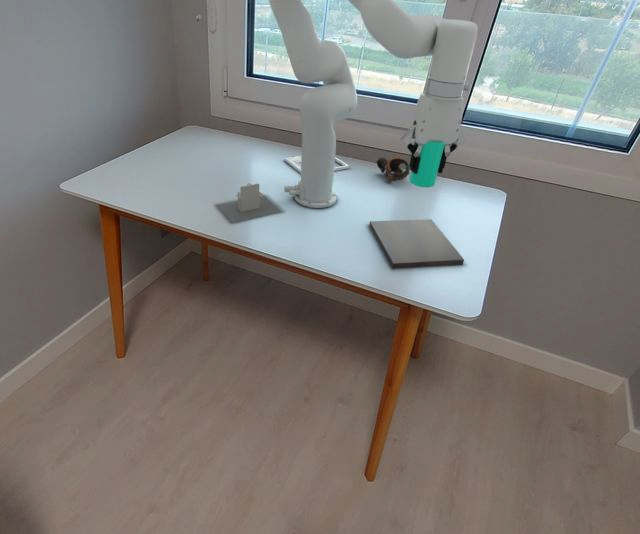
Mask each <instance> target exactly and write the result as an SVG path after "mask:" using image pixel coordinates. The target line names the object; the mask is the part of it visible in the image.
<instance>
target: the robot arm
mask: <svg viewBox="0 0 640 534" xmlns="http://www.w3.org/2000/svg"><path fill="white" fill-rule="evenodd" d="M268 2H269V4H270V8H271V12H272V13H273V16H274V18H275V21H276V23H277V25H278V27H279V30H280V34H281V36H282V40H283V43H284V47H285V49H286V53H287V56H288V59H289V62H290V65H291V68H292V71H293V74H294V76H295V78H296V79H297V80H298V82H300V83H303V84H314V83H319V82H320V83H321V82H322V84H323V85H320V86H315V87H313V88H310V89H309V90H307V91H306V92H304V93H303V95H302V97H301V99H300V101H299V116H300V122H301V123H300V124H301V156H302V157H301V173H300V180H298V182H297V184H294V185H284V188H283V189H284V193H288V194H289V196H294V201H296V203H298V205H299V204H300V205H301V206H304V207H306V208H311V209H325V208H329V207H332V206H334V205H335V204H336V203H337V197H338V196H337V195H336V193H335V192H334V191H333V185H334V173H335V171H334V167H335V162H336V161H335V157H336V152H337V137H336V136H337V135H336V132H335V130H334V129H335V128H334V123H337V122H340V121H344V120H347V119H349V118H351V117H352V116H353V115H354V114H355V113H356V110H357V107H358V102H359V101H358V94H357V93H358V92H357V90H356V86H355V82H354V78H353V74H352V71H351V66H350V65H349V61H348V57H347V55H346V53H345V50H344V49H343V48H342V46H341V45H340V44H339V43H337V42H335V41H333V40H321V39H320V37H319V35H318V32H317V30H316V29H317V28H316V25H315V22H314V20H313V18H312V16H311V15H312V14H311V13H310V12H309V11H308V9H307V7H306V6H305V5H304V4H303V2H302V0H268ZM347 2H349V3H350V4H351V5H352V6H353V7H354V8H355V9H356V10H357V11H358V12H359V13H360V17H361V20H362V22H363V25H364V27H365V29H366V31H367V32H368V34H370V36H371V37H372V38H373V39H374V40H375V41H376V42H377V43H378V44H379V45H381V46H382V47H383V48H384V49H385V50H386V51H387V52H389V53H390V54H391V55H393V57H396V58H399V59H403V60H406V59H413V58H421V57H431V60H430V61H431V62H430V67H429V71H428V76H427V81H426V86H425V91H424V92H422V93H420V95H419V97H418V100H417V103H416V105H415V108H414V111H413V115H412V118H411V122H410V126H409V129H408V130H407V131H406V132H405V133H404V134H403V135H402V136H401V137H400V141H401V142H402V143H403V144H404V145H405V147H406V148H407V149H408V151H409V152H410V153H411V154H410V161H409V163H408V164H409V169H410V170H409V171H410V172H411V171H412V172H413V173H414V174H417V172H418V167H419V163H420V158H421V157H419V155H420V153H421V151H422V146H423V144H426V143H427V142H437V143H440V142H444V149H443V153H442V157H441V161H440V165H439V169H438V173H437V174H442V173H443V171H444V169H445V166H446V163H447V159H448V158H449V157H450V156H451V154H452V153H453V152H454V151H455V150H456V149H457V148H458V147H459V146H461V145H462V144H464V142H465V141H466V140H465V137H464V136H463V134H462V132H461V125H462V120H463V112H464V97H463V95H464V92H465V91H469V89H470V84H469V83H466V81H467V77H468V72H469V70H470V69H469V68H470V64H471V61H472V56H473V54H474V53H473V52H474V49H475V45H476V41H477V36H478V29H479V27H478V25H477V23H475V22H473V21H472V20H471V21H470V20H465V19H464V20H463V19H451V18H450V19H447V18H444V17H441V16H438V15H433V14H410V13H408V12H407V10H404V8H403V7H402V6H400V5H399V4H398V3H396V1H395V0H347ZM411 139H414V142H413V143H412V142H411ZM417 144H418V146H417Z"/></svg>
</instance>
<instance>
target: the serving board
mask: <svg viewBox="0 0 640 534" xmlns="http://www.w3.org/2000/svg"><path fill="white" fill-rule="evenodd" d="M368 227H369V229H370V231H371V232H372V234H373V236H374V237H375V239H376V241H377V243H378V245H379V246H380V249H381V250H382V252H383V254H384V256H385V258H386V259H387V261H388V263H389V265H390V267H391V269H394V270H395V269H409V268H426V267H427V268H429V267H444V266H445V267H446V266H448V267H449V266H462V265H464V262H465V259H464V258H463V256H462V255H461V254H460V253H459V251H458V250H457V248H455V247H454V245H453V244H452V243H451V241H450V240H449V238H447V237H446V236H445V234H444V232H442V230H441V229H440V228H439V226H438V225H437V224H436V223H435V222H434V221H433V219H427V218H426V219H402V220H401V219H400V220H399V219H398V220H373V221H372V220H371V221H369V224H368Z"/></svg>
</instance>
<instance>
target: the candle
mask: <svg viewBox="0 0 640 534" xmlns="http://www.w3.org/2000/svg"><path fill="white" fill-rule="evenodd" d="M417 146H418V144H417ZM443 149H444V142H440V143H437V142H427V143H426V144H423V146H422V151H421V153H420V155H419V157H421V158H420V163H419V167H418V172H417V174H414V173H413V172H412V171H411V170H410V176H409V183H410V184H411V185H413V186H416V187H420V188H427V189H429V188H433V187H434V186H435V184H436V180H437V176H438V174H439V173H438V169H439V165H440V161H441V157H442V153H443Z"/></svg>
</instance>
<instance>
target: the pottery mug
mask: <svg viewBox="0 0 640 534" xmlns="http://www.w3.org/2000/svg"><path fill="white" fill-rule="evenodd" d="M403 164H404V165H405V170H404V169H402V168H401V166H400V165H403ZM409 164H410V163H409V162H408V161H407V160H406V159H404V158H402V157H399V156H398V157H397V156H394V157H392V158H390V159H387V158H385V157H379V158H377V160H376V165H377V167H378V169H379V170H380V172H381V174H384V173H385V175H386V174H387V177H386V179H385V180H386V182H388V183H389V184H390V183H392V182H397V181H402V180H404V179H406V178H407V176H409V175H410V170H409V169H410V167H409Z"/></svg>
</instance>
